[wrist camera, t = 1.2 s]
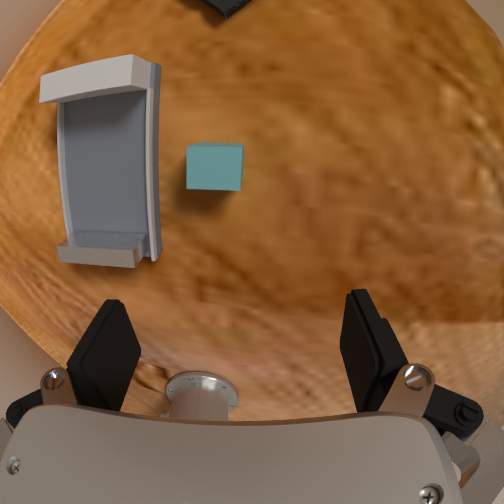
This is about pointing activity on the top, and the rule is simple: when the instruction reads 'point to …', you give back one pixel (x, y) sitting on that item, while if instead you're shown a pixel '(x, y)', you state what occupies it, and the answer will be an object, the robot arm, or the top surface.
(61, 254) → the block
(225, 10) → the disk drive
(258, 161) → the top surface
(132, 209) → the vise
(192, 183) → the teal block
